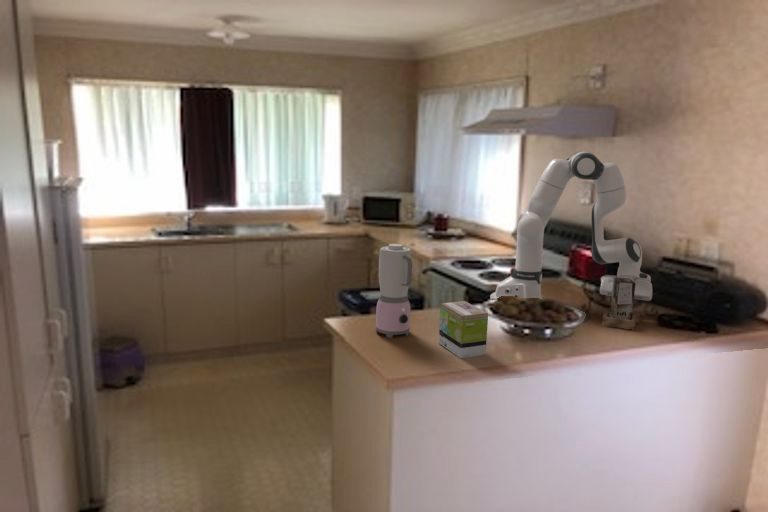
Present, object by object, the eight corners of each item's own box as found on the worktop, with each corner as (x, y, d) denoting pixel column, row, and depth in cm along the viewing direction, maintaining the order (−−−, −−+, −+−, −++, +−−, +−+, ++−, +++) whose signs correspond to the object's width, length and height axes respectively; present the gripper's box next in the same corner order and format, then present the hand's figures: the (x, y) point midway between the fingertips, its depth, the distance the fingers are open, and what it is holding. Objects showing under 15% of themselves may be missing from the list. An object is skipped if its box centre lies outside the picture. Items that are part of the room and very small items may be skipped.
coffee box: (631, 322, 234) (636, 283, 231) (614, 321, 235) (619, 282, 231) (625, 316, 243) (629, 277, 240) (609, 315, 243) (613, 277, 240)
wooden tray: (598, 325, 230) (599, 316, 229) (602, 316, 241) (603, 308, 240) (636, 331, 224) (637, 322, 223) (639, 322, 235) (640, 313, 234)
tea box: (437, 344, 203) (439, 302, 200) (462, 340, 207) (465, 299, 204) (460, 359, 189) (462, 314, 186) (486, 355, 193) (489, 311, 191)
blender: (368, 330, 215) (371, 243, 209) (396, 325, 222) (399, 240, 215) (393, 343, 202) (396, 250, 196) (421, 337, 209) (426, 248, 203)
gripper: (601, 270, 251) (596, 297, 245) (654, 276, 243) (650, 305, 236) (602, 278, 256) (597, 305, 250) (653, 284, 248) (650, 313, 241)
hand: (623, 305), depth 243 cm, fingers closed
